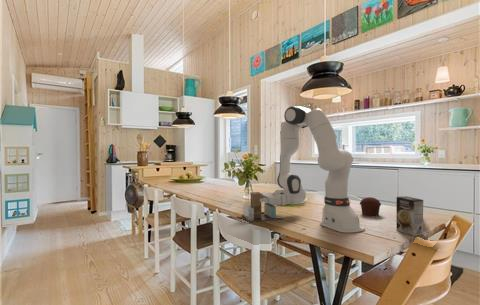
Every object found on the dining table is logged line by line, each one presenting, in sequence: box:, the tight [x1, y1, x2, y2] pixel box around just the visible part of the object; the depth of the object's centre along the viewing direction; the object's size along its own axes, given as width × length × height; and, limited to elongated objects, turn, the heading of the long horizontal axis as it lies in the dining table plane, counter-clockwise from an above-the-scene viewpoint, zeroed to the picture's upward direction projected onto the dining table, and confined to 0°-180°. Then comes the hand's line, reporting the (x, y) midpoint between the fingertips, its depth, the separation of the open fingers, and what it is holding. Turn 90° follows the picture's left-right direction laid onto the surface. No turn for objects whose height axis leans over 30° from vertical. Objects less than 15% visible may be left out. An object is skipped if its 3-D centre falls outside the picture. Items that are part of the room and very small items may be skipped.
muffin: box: [359, 196, 382, 217], centre depth 158 cm, size 12×11×10 cm
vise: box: [241, 203, 283, 223], centre depth 156 cm, size 16×20×7 cm
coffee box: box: [396, 195, 424, 237], centre depth 124 cm, size 9×6×16 cm
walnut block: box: [250, 191, 263, 218], centre depth 155 cm, size 5×5×14 cm
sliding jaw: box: [263, 202, 277, 218], centre depth 157 cm, size 12×3×6 cm, turn 14°
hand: (256, 198), depth 155 cm, fingers open, 8 cm apart
